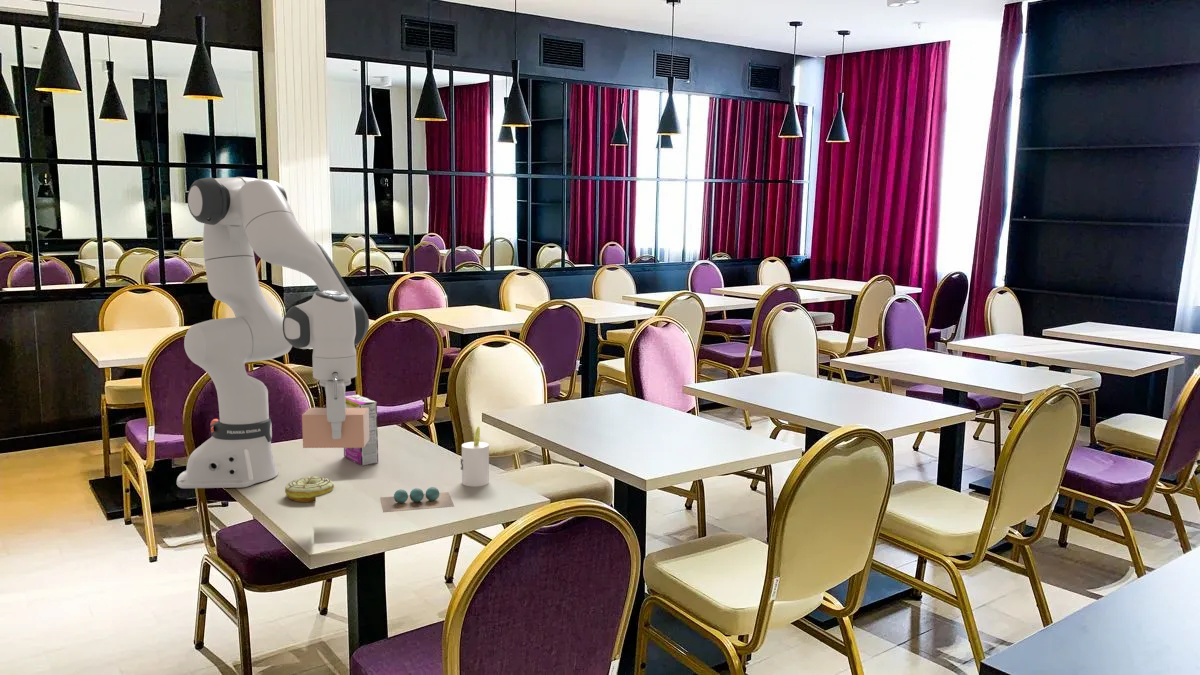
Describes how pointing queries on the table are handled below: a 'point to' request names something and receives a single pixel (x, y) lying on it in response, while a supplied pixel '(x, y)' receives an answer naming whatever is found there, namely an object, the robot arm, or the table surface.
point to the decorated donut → (308, 488)
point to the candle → (475, 462)
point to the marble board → (415, 506)
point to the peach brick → (320, 429)
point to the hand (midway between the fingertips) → (336, 433)
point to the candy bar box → (370, 450)
